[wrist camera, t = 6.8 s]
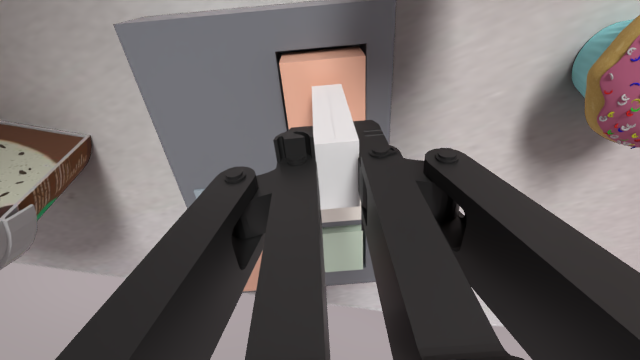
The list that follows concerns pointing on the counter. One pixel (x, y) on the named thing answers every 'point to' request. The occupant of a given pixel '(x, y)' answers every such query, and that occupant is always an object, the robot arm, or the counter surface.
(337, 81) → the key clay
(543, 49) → the counter surface
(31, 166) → the food container
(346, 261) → the key sage
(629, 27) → the cupcake
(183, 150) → the keypad
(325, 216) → the key cream
